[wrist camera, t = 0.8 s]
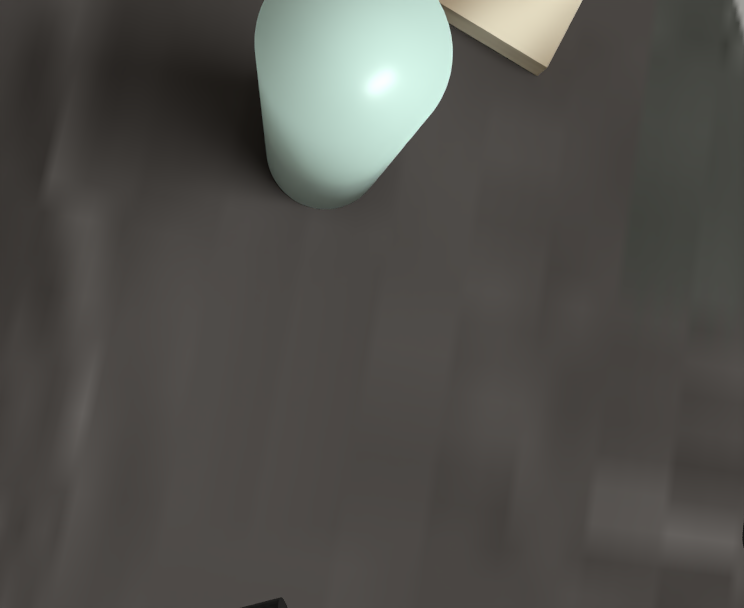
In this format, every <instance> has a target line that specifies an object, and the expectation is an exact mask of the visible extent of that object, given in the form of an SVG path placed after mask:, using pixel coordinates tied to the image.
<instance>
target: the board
mask: <svg viewBox="0 0 744 608" xmlns="http://www.w3.org/2000/svg"><path fill="white" fill-rule="evenodd" d="M439 2H440V4H441V6H442V8H443V10H444V12H445V15H446V18H447V21H448V23H450V24H451V25H453V26H455V27H456V28H458V29H460V30H461V31H463V32H465V33H466V34H468V35H470V36H471V37H473V38H475V39H476V40H478V41H480V42H481V43H483V44H485V45H486V46H488V47H490V48H491V49H493V50H495V51H496V52H498V53H500V54H501V55H503V56H505V57H506V58H508V59H510V60H511V61H513V62H515V63H516V64H518V65H520V66H521V67H523V68H525V69H526V70H528V71H530V72H531V73H533V74H535V75H536V76H538V75H539V74H540V73H541V72H543V71H544V70H545V69H546V68H547V67H548V65H549V63H550V61H551V59H552V57H553V55H554V53H555V52H556V50H557V48H558V46H559V44H560V42H561V40H562V38H563V36H564V34H565V32H566V31H567V29H568V27H569V25H570V23H571V21H572V19H573V17H574V15H575V13H576V11H577V9H578V8H579V6H580V4H581V2H582V0H439Z"/></svg>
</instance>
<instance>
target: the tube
mask: <svg viewBox="0 0 744 608" xmlns="http://www.w3.org/2000/svg"><path fill="white" fill-rule="evenodd" d="M254 47H255V57H256V66H257V75H258V84H259V93H260V102H261V111H262V120H263V128H264V137H265V146H266V155H267V162H268V166H269V169H270V172H271V174H272V176H273V178H274V180H275V182H276V183H277V184H278V186H279V187H280V188H281V189H282V190H283V191H284V193H285V194H287V195H288V196H289V197H290V198H292V199H293V200H295V201H296V202H298V203H300V204H303V205H305V206H308V207H311V208H316V209H335V208H340V207H343V206H346V205H349V204H351V203H353V202H354V201H356V200H357V199H359V198H360V197H362V196H363V195H364V194H365V193H366V192H367V191H368V190H369V188H370V187H371V186H372V185H373V184H374V182H375V181H376V180H377V179H378V177H379V176H380V175H381V174H382V173H383V171H384V170H385V169H386V168H387V167H388V165H389V164H390V163H391V162H392V160H393V159H394V158H395V157H396V156H397V154H398V153H399V152H400V151H401V150H402V148H403V147H404V146H405V145H406V143H407V142H408V141H409V140H410V139H411V137H412V136H413V135H414V134H415V133H416V131H417V130H418V129H419V128H420V126H421V125H422V124H423V123H424V122H425V120H426V119H427V118H428V117H429V116H430V114H431V113H432V112H433V111H434V109H435V108H436V106H437V105H438V103H439V102H440V100H441V98H442V96H443V94H444V92H445V89H446V87H447V84H448V81H449V77H450V73H451V67H452V55H453V47H452V37H451V32H450V28H449V23H448V21H447V18H446V15H445V12H444V10H443V8H442V6H441V4H440V2H439V0H264V2H263V4H262V6H261V9H260V12H259V15H258V19H257V23H256V30H255V46H254Z"/></svg>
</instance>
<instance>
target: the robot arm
mask: <svg viewBox="0 0 744 608" xmlns="http://www.w3.org/2000/svg"><path fill="white" fill-rule="evenodd" d="M743 546H744V525H743ZM242 608H287V605H286V603H285V601H284V599H283V598H277V599H273V600H269V601H265V602H261V603H257V604H254V605H250V606H246V607H242Z"/></svg>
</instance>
